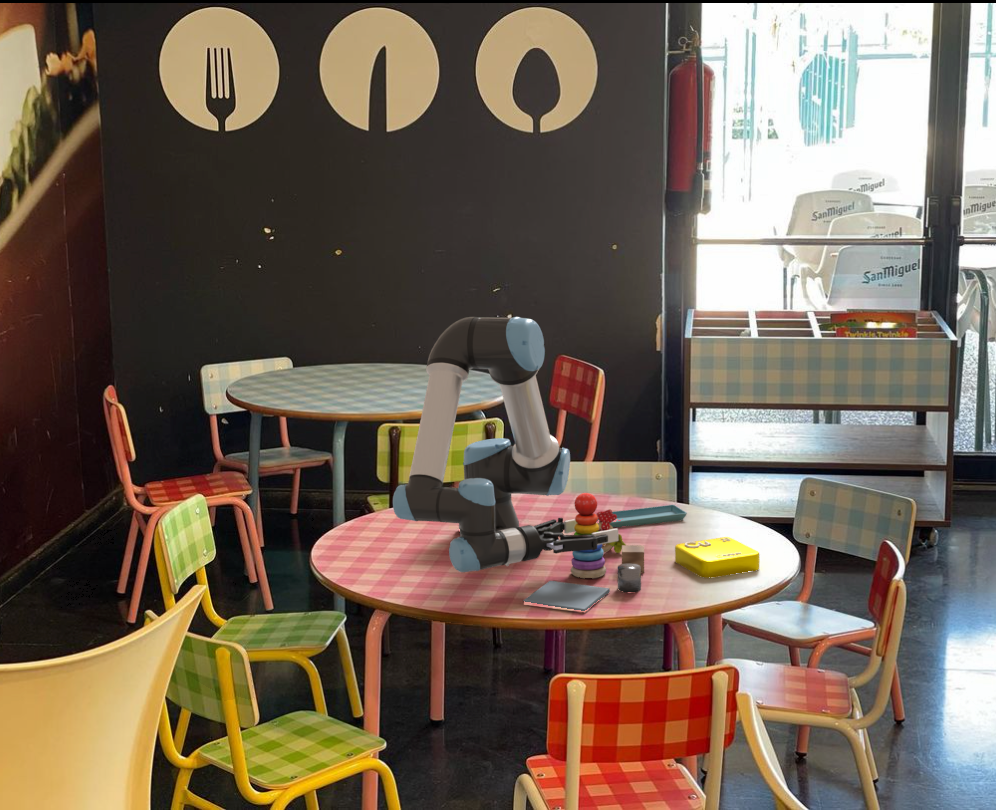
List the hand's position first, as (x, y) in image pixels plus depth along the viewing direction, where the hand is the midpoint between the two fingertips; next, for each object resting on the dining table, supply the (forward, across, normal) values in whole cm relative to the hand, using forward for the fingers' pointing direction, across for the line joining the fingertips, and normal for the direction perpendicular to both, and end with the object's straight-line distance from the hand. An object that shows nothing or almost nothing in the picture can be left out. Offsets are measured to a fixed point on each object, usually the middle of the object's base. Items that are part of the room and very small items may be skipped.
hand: (603, 528), depth 300 cm
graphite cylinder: (-2, +13, -10) cm, 17 cm away
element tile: (+24, +10, -11) cm, 28 cm away
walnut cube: (+6, +2, -10) cm, 12 cm away
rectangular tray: (+29, -30, -11) cm, 43 cm away
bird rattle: (+8, -11, -10) cm, 17 cm away
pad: (-17, +11, -10) cm, 23 cm away
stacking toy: (-4, 0, -10) cm, 11 cm away
